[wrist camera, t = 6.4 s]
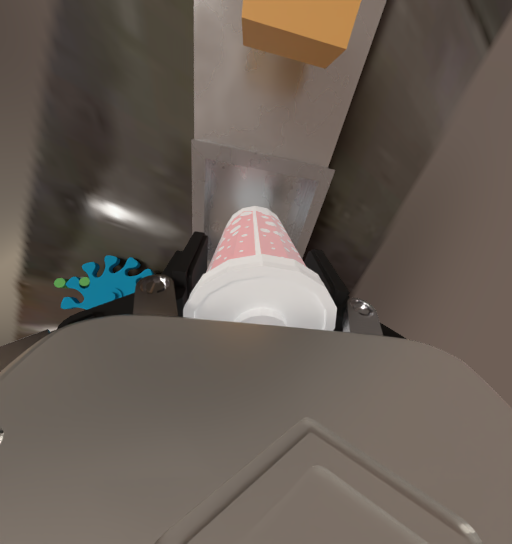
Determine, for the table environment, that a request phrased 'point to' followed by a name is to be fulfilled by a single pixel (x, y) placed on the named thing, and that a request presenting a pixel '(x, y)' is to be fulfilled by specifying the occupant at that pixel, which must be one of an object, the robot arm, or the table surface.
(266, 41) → the amber wooden brick
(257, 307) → the beverage cup
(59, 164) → the table surface
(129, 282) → the blue lobed piece
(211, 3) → the gray tray
